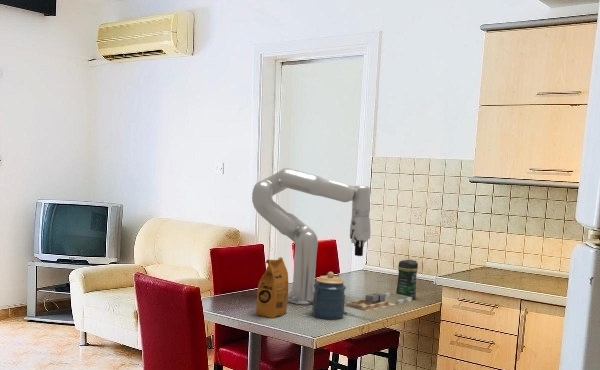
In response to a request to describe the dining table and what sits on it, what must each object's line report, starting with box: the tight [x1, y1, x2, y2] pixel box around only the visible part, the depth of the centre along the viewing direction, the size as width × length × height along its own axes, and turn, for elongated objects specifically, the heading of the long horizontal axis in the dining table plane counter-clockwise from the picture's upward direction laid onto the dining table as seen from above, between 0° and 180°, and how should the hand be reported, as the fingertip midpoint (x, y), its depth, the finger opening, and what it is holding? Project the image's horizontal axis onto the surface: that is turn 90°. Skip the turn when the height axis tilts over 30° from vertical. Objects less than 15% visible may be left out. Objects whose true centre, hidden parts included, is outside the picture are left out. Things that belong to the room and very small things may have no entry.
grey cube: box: [372, 292, 386, 303], centre depth 245 cm, size 4×4×4 cm
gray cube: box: [364, 293, 379, 305], centre depth 241 cm, size 4×4×4 cm
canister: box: [311, 271, 347, 320], centre depth 223 cm, size 13×13×18 cm
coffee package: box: [255, 256, 289, 319], centre depth 219 cm, size 10×12×22 cm
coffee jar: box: [395, 259, 419, 300], centre depth 265 cm, size 10×8×19 cm
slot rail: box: [344, 292, 414, 312], centre depth 246 cm, size 36×12×3 cm, turn 137°
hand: (358, 255), depth 245 cm, fingers closed
